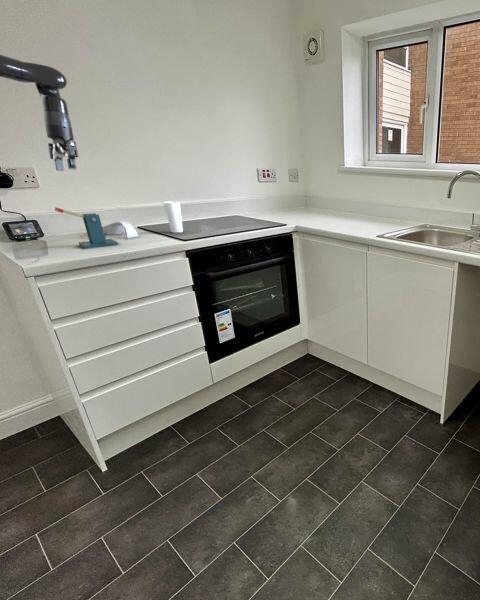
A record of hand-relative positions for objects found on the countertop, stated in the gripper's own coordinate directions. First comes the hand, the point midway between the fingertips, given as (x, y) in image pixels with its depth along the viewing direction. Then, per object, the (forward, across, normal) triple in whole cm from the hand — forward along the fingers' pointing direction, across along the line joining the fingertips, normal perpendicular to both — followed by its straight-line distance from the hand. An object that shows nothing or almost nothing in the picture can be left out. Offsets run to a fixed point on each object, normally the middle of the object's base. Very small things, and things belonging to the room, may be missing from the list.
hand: (66, 170), depth 139 cm
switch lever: (+18, +1, 0) cm, 19 cm away
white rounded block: (+26, -12, +23) cm, 37 cm away
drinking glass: (+25, +3, +41) cm, 48 cm away
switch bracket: (+30, +1, +6) cm, 30 cm away
